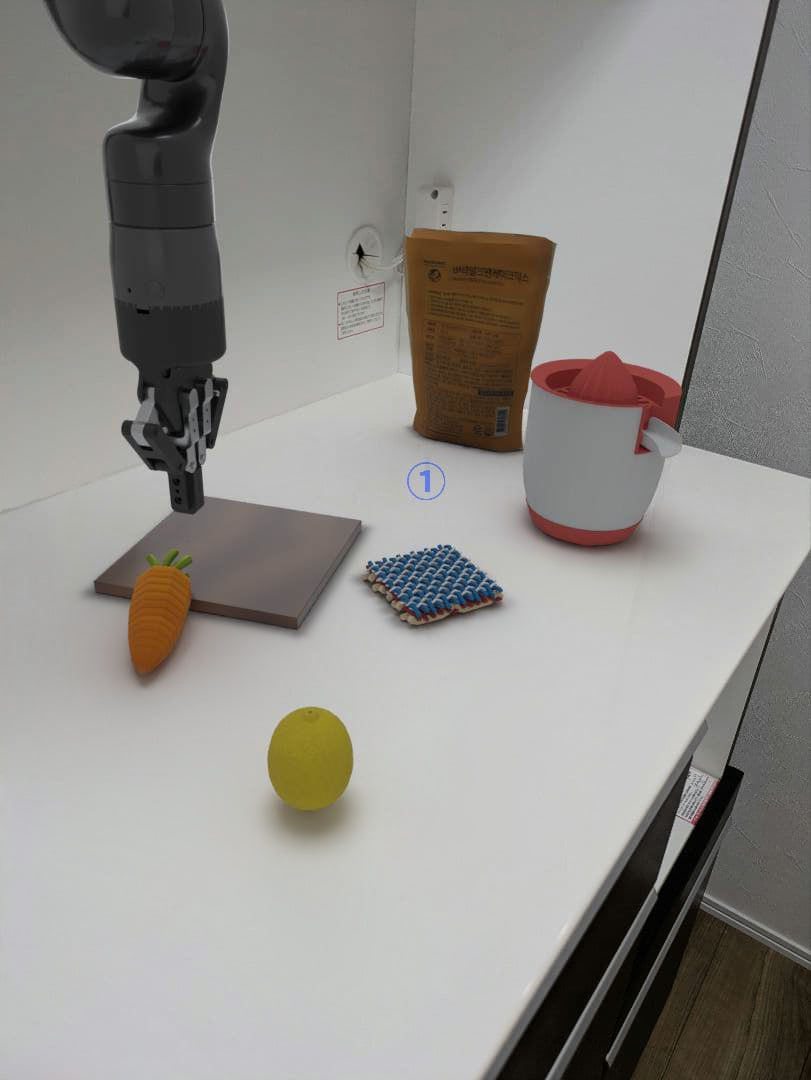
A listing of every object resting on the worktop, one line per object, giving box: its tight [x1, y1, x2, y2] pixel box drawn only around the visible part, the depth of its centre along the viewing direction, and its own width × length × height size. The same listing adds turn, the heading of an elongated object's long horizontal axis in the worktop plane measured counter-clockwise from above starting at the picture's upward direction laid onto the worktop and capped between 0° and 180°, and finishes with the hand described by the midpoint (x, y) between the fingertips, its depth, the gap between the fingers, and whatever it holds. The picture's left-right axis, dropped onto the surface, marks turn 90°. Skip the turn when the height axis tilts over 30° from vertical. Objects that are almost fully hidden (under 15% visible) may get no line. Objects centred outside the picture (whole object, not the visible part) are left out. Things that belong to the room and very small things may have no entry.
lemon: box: [267, 706, 354, 812], centre depth 54 cm, size 6×6×8 cm
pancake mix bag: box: [401, 227, 558, 453], centre depth 109 cm, size 7×19×28 cm, turn 67°
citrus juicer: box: [522, 350, 683, 547], centre depth 89 cm, size 16×17×20 cm
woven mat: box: [361, 543, 504, 626], centre depth 80 cm, size 10×11×2 cm
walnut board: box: [93, 495, 363, 630], centre depth 84 cm, size 20×20×1 cm
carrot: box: [127, 549, 193, 676], centre depth 71 cm, size 5×5×15 cm
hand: (188, 509), depth 67 cm, fingers closed
